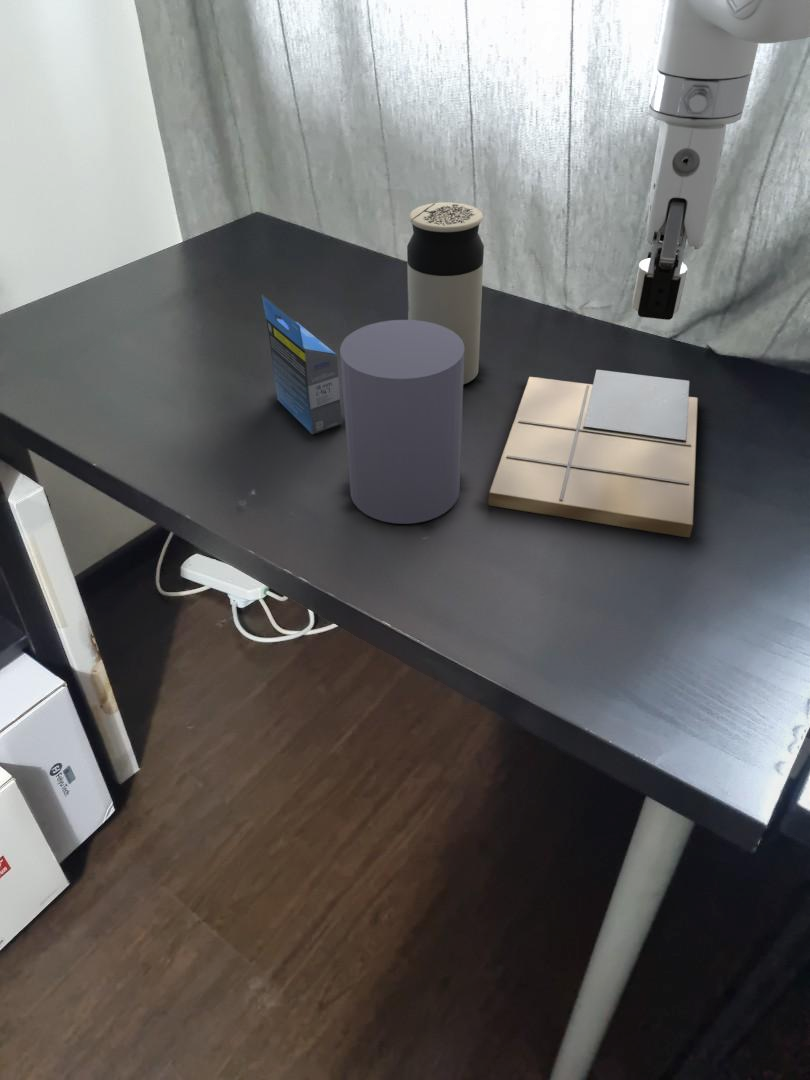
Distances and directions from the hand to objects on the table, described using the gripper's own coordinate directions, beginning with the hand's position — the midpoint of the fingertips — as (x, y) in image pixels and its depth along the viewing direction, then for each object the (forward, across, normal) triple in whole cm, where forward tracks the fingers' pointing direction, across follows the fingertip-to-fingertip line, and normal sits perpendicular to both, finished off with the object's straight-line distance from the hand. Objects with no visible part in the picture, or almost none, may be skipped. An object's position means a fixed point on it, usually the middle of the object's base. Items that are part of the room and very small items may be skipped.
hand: (656, 303), depth 79 cm
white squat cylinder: (0, 0, 0) cm, 0 cm away
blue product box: (+13, -8, +34) cm, 37 cm away
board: (+13, -7, +3) cm, 15 cm away
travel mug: (+13, +4, +22) cm, 26 cm away
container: (+13, -19, +20) cm, 30 cm away
